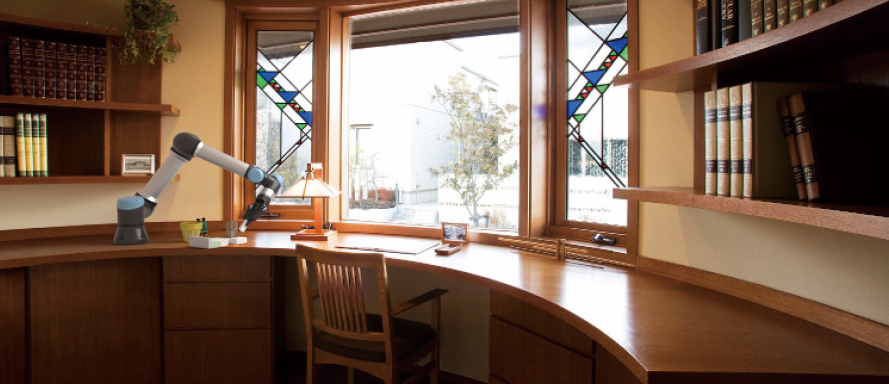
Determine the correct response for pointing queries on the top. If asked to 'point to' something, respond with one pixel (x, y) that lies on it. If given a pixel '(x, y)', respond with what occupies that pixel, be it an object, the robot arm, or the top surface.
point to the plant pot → (190, 229)
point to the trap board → (214, 241)
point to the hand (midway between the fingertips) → (240, 230)
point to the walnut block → (231, 229)
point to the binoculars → (203, 227)
